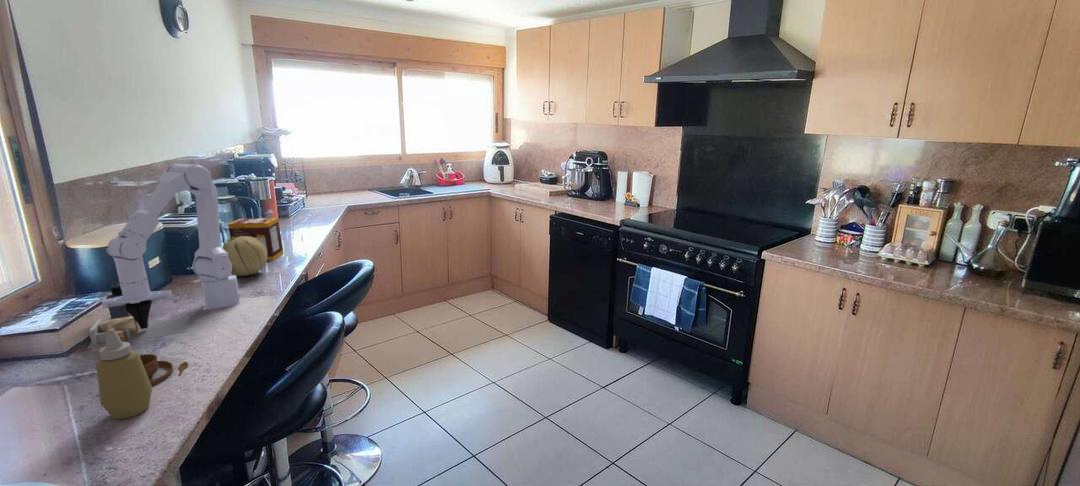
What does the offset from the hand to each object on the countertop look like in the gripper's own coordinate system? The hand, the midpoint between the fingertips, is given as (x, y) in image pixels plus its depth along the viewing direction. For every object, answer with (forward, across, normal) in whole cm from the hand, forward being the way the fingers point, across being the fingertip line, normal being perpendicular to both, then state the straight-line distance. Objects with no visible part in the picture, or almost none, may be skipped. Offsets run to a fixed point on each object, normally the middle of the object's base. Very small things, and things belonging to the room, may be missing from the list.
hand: (144, 327), depth 133 cm
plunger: (+1, -5, -4) cm, 6 cm away
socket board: (+2, -1, 0) cm, 2 cm away
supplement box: (+2, +27, +66) cm, 71 cm away
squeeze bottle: (+2, +4, -44) cm, 44 cm away
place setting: (+2, +4, -25) cm, 25 cm away
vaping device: (+2, -8, +14) cm, 16 cm away
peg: (+1, -5, 0) cm, 5 cm away
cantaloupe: (+2, +23, +42) cm, 49 cm away
